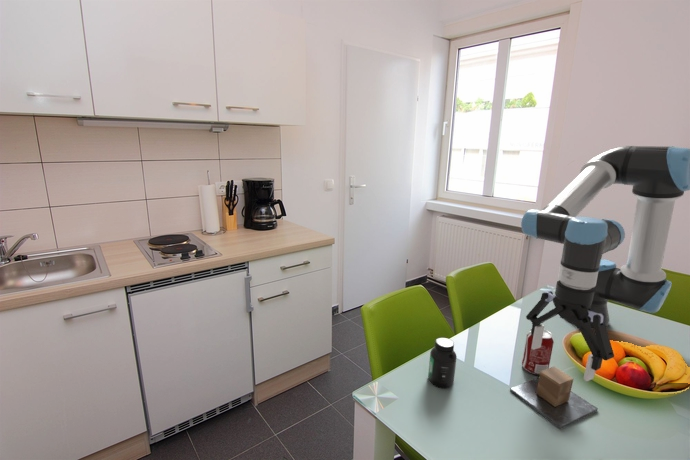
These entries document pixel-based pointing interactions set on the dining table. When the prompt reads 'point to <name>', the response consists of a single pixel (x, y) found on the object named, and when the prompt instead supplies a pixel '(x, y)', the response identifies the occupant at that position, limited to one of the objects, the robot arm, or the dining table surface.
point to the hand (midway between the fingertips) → (560, 362)
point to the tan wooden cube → (554, 386)
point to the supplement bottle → (442, 363)
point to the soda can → (537, 353)
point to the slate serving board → (558, 414)
